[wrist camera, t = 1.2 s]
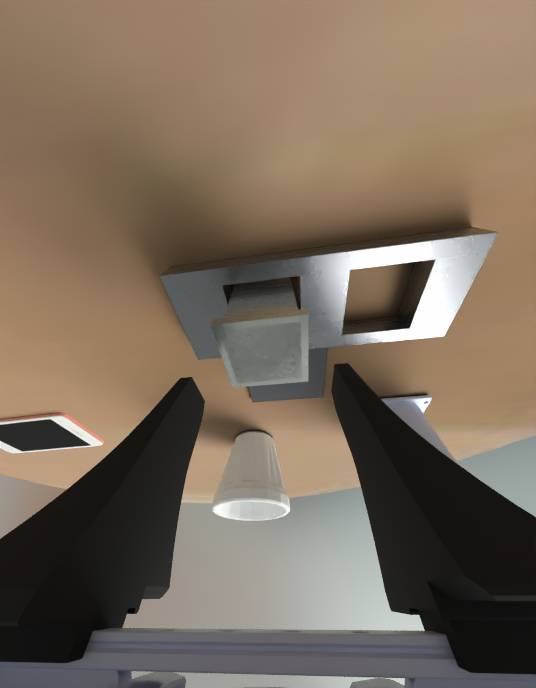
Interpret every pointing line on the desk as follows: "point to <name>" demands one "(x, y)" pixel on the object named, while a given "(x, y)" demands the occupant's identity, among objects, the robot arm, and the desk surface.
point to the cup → (252, 481)
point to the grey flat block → (339, 287)
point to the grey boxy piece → (263, 335)
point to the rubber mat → (297, 389)
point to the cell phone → (44, 434)
